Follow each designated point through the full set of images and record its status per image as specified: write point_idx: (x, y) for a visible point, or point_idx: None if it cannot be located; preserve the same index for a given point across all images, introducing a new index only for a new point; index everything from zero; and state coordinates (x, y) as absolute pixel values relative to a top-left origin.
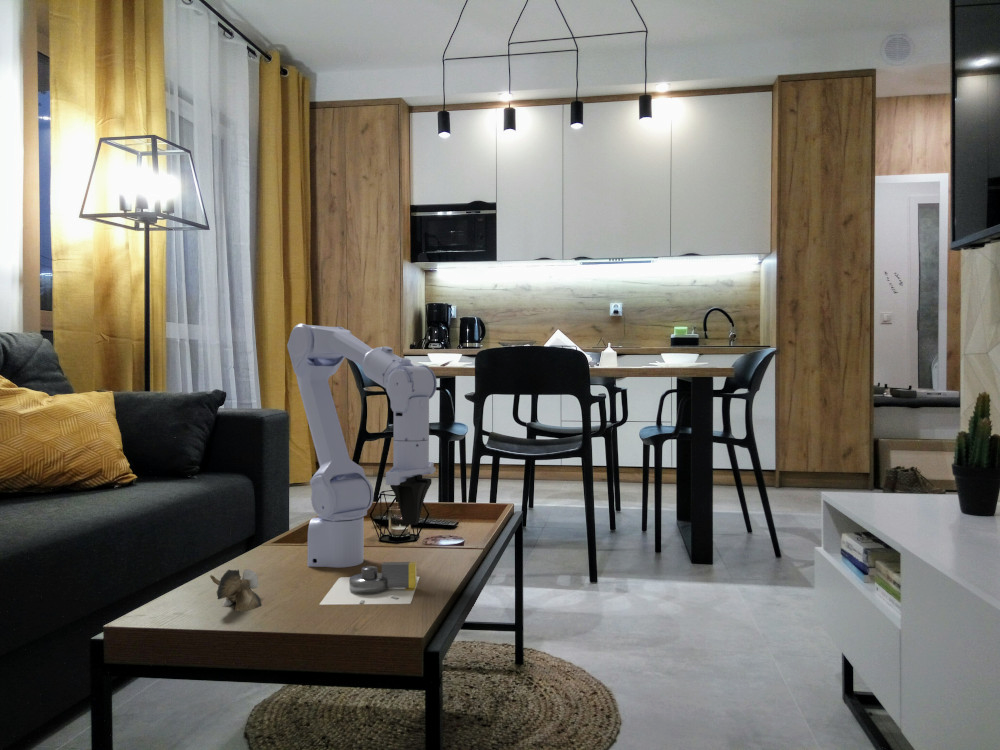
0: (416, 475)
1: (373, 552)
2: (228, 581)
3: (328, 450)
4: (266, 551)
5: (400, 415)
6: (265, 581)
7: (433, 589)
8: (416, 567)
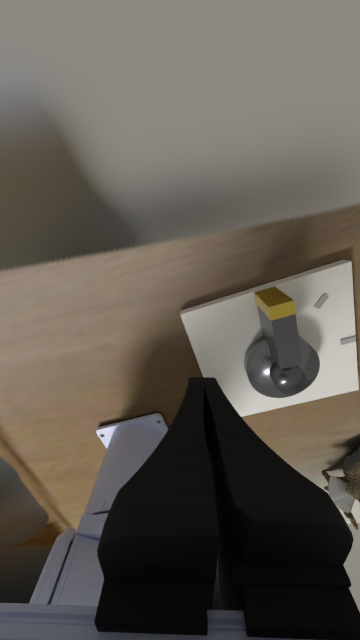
0: (157, 633)
1: (45, 440)
2: None
3: None
4: None
5: None
6: None
7: (211, 271)
8: (264, 303)
